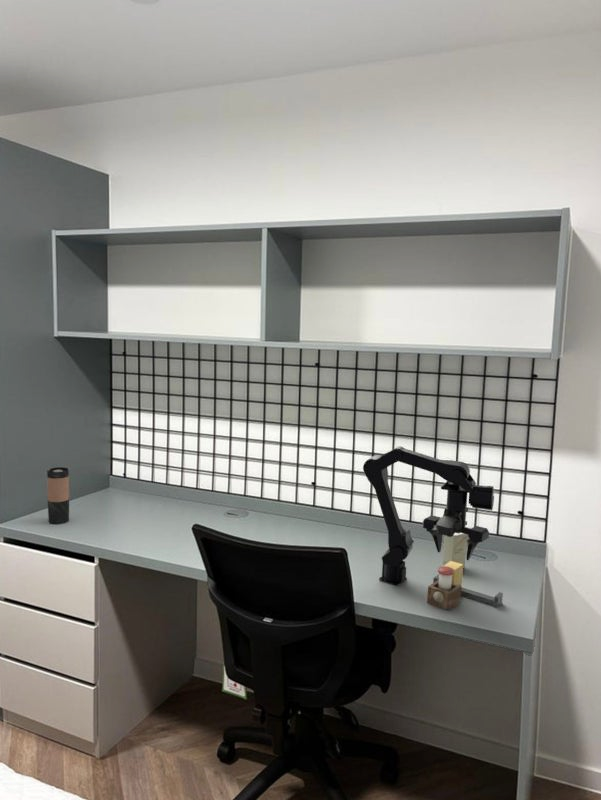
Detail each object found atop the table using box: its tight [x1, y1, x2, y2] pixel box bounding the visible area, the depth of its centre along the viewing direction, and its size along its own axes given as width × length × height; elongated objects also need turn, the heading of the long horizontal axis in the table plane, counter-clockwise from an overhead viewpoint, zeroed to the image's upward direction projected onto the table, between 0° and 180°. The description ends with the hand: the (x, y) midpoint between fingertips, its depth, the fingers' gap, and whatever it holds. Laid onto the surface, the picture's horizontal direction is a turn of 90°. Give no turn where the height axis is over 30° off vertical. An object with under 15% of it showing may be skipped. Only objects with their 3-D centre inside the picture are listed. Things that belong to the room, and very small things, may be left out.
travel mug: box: [46, 466, 70, 525], centre depth 241 cm, size 8×8×20 cm
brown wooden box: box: [426, 579, 462, 612], centre depth 184 cm, size 7×7×5 cm
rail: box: [432, 573, 504, 608], centre depth 189 cm, size 20×4×3 cm, turn 52°
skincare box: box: [442, 533, 468, 569], centre depth 209 cm, size 6×4×12 cm
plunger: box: [437, 565, 454, 591], centre depth 183 cm, size 4×4×7 cm
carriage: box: [444, 561, 464, 586], centre depth 192 cm, size 4×6×8 cm, turn 142°
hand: (453, 556), depth 191 cm, fingers open, 9 cm apart
